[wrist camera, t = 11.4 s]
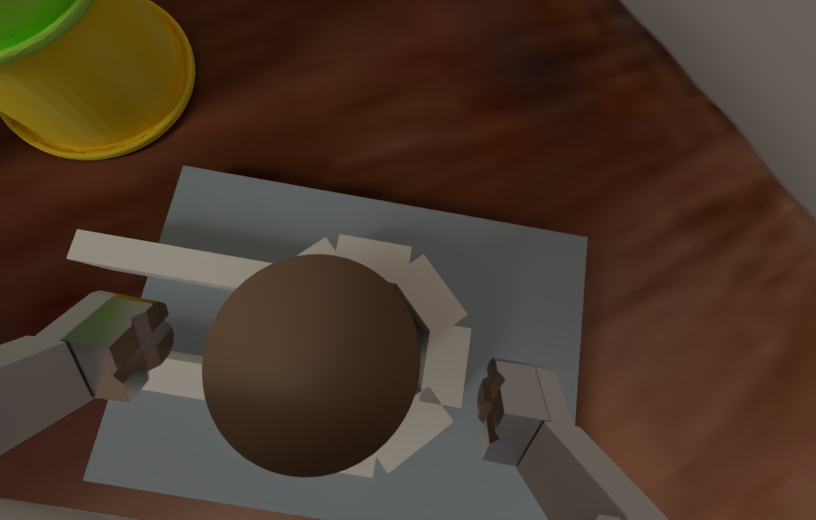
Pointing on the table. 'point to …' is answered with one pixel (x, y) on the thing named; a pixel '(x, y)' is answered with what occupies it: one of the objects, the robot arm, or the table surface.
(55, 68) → the stacking cups
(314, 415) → the walnut dowel
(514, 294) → the keyhole board
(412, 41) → the table surface
